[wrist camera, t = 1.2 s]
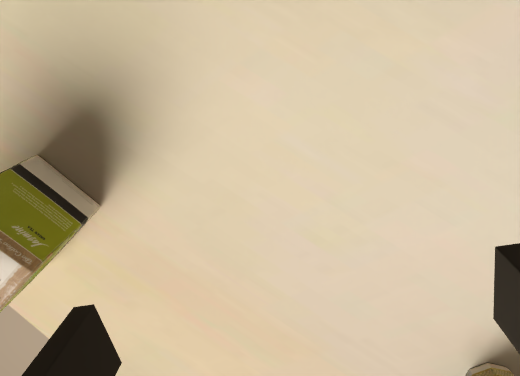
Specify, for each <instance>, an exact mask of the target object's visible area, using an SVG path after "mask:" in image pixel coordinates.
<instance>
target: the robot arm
mask: <svg viewBox="0 0 520 376" xmlns="http://www.w3.org/2000/svg"><path fill="white" fill-rule="evenodd" d="M494 320H495V321H496V323H497V324H498V325H499V327H500V328H501V329H502V331H503V332H504V333H505V335H506V336H507V338H508V339H509V340H510V342H511V343H512V344H513V346H514V347H515V349H516V350H517V351H518V353H519V354H520V243H519V244H512V245H505V246H498V247H495V278H494ZM121 363H122V362H121V360H120V358H119V356H118V354H117V352H116V350H115V348H114V346H113V344H112V341H111V339H110V337H109V335H108V333H107V331H106V329H105V327H104V325H103V323H102V321H101V319H100V316H99V314H98V312H97V310H96V308H95V306H94V305H87V306H80V307H74V308H73V309H72V310H71V312H70V313H69V314H68V316H67V317H66V318H65V320H64V321H63V322H62V323H61V325H60V326H59V327H58V329H57V330H56V331H55V333H54V334H53V335H52V337H51V338H50V339H49V340H48V342H47V343H46V345H45V346H44V347H43V348H42V350H41V351H40V352H39V354H38V355H37V357H36V358H35V359H34V360H33V361H32V363H31V364H30V365H29V367H28V368H27V369H26V371H25V372H24V373H23V375H22V376H115V375H116V373H117V371H118V369H119V367H120V365H121Z"/></svg>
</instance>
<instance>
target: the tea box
mask: <svg viewBox="0 0 520 376" xmlns="http://www.w3.org/2000/svg"><path fill="white" fill-rule="evenodd" d="M99 208H100V205H99V204H97V203H96V202H95V201H94V200H93V199H91V198H90V197H89V196H88V195H87V194H85V193H84V192H83V191H82V190H80V189H79V188H78V187H77V186H76V185H74V184H73V183H72V182H71V181H69V180H68V179H67V178H66V177H64V176H63V175H62V174H61V173H60V172H58V171H57V170H56V169H55V168H53V167H52V166H51V165H50V164H48V163H47V162H46V161H45V160H43V159H42V158H41V157H39V156H38V155H36V156H34V157H31V158H29V159H27V160H25V161H23V162H21V163H19V164H17V165H16V166H13V167H12V168H9V169H7V170H5V171H3V172H1V173H0V312H1V311H2V310H3V309H4V308H5V307H6V306H7V305H8V304H9V303H10V302H11V301H12V300H13V299H14V298H15V297H16V296H17V295H18V294H19V293H20V292H21V291H22V290H23V289H24V288H25V287H26V286H27V285H28V284H29V283H30V282H31V281H32V280H33V279H34V278H35V277H36V276H37V275H38V274H39V273H40V272H41V271H42V270H43V269H44V267H45V266H46V265H47V264H48V263H49V262H50V261H51V260H52V259H53V258H54V257H55V256H56V255H57V254H58V253H59V251H60V250H61V249H62V248H63V247H64V246H65V245H66V244H67V243H68V242H69V241H70V240H71V239H72V238H73V237H74V235H75V234H76V233H77V232H78V231H79V230H80V229H81V228H82V227H83V226H84V225H85V224H86V222H87V221H88V220H89V219H90V218H91V217H92V216H93V215H94V214H95V213H96V212H97V211H98V209H99Z"/></svg>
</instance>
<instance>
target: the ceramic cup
mask: <svg viewBox="0 0 520 376" xmlns="http://www.w3.org/2000/svg"><path fill="white" fill-rule="evenodd" d="M466 376H514V375H513V374H512V373H511V372H510V370H509V369H508V368H506V367H504V366H499V365H495V364H490V363H486V364H483V365H480V366H478V367H475V368H472V369H470V370H469V371H468V373H467V374H466Z"/></svg>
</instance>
